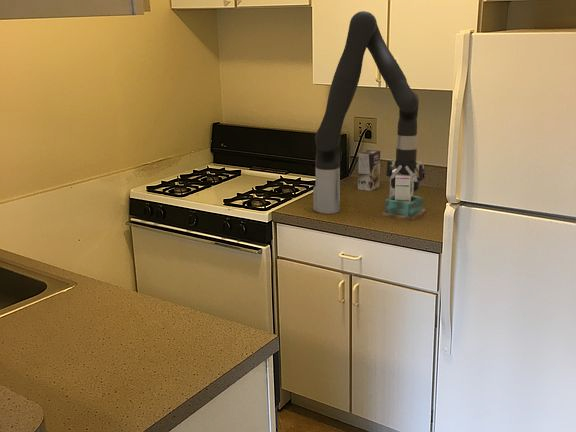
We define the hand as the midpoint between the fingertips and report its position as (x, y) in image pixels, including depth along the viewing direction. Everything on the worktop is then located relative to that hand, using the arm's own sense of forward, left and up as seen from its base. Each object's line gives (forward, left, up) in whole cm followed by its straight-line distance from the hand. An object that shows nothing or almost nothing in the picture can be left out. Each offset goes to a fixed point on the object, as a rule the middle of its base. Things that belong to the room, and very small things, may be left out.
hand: (404, 189), depth 240 cm
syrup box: (0, 0, -9) cm, 9 cm away
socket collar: (0, 0, -10) cm, 10 cm away
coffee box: (-28, +27, -10) cm, 40 cm away
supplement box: (-8, +16, -10) cm, 20 cm away
